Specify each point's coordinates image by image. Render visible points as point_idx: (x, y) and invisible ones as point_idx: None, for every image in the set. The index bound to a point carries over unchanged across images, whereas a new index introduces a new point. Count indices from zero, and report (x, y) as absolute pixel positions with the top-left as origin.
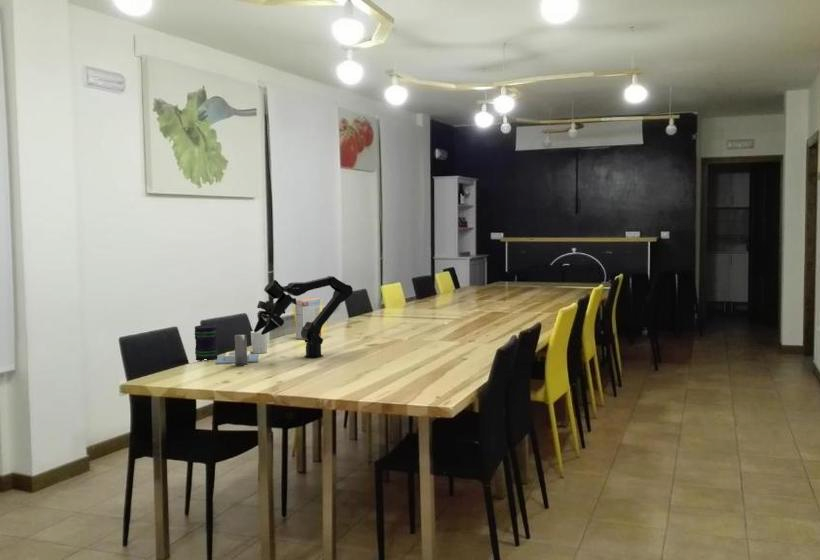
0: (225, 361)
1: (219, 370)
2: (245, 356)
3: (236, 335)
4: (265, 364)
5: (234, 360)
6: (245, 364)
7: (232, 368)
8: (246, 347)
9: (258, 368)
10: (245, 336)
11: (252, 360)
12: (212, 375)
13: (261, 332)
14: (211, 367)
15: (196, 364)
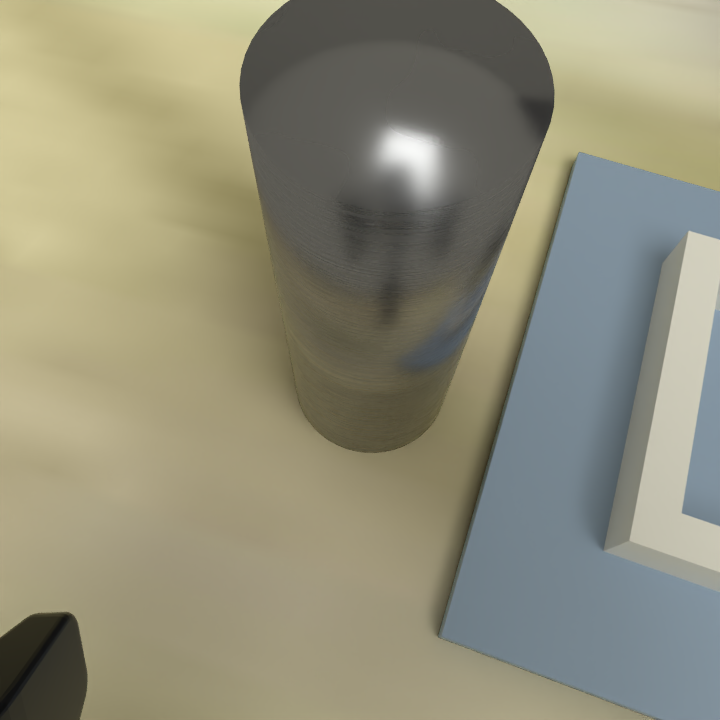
0: (603, 251)
1: (211, 117)
2: (297, 369)
3: (449, 13)
4: (232, 696)
5: (627, 357)
6: (301, 406)
7: (233, 243)
8: (317, 335)
9: (15, 499)
10: (274, 173)
11: (511, 572)
12: (15, 19)
13: (42, 627)
14: None
15: (661, 34)
